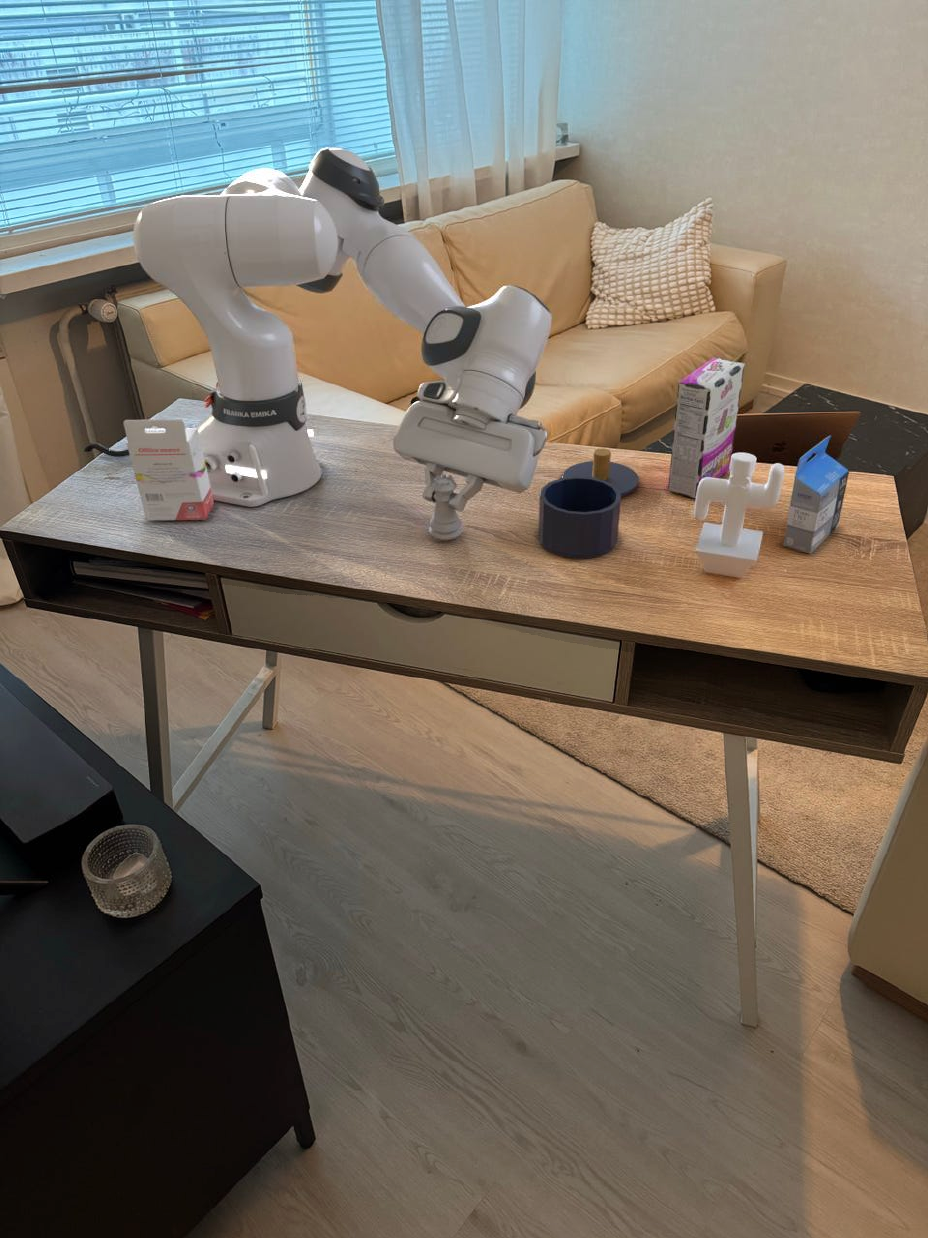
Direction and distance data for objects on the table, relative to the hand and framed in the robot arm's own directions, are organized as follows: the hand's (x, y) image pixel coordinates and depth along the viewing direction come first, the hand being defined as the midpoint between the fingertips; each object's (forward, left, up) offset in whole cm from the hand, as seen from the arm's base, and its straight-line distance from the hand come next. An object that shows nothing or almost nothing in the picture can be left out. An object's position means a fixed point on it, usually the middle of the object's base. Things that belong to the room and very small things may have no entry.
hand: (441, 504), depth 119 cm
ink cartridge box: (-38, +1, -5) cm, 38 cm away
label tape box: (+47, +8, -5) cm, 48 cm away
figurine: (+36, -1, -5) cm, 37 cm away
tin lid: (+19, +19, -4) cm, 27 cm away
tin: (+18, +3, -5) cm, 18 cm away
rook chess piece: (0, +1, -5) cm, 5 cm away
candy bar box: (+33, +22, -5) cm, 40 cm away
